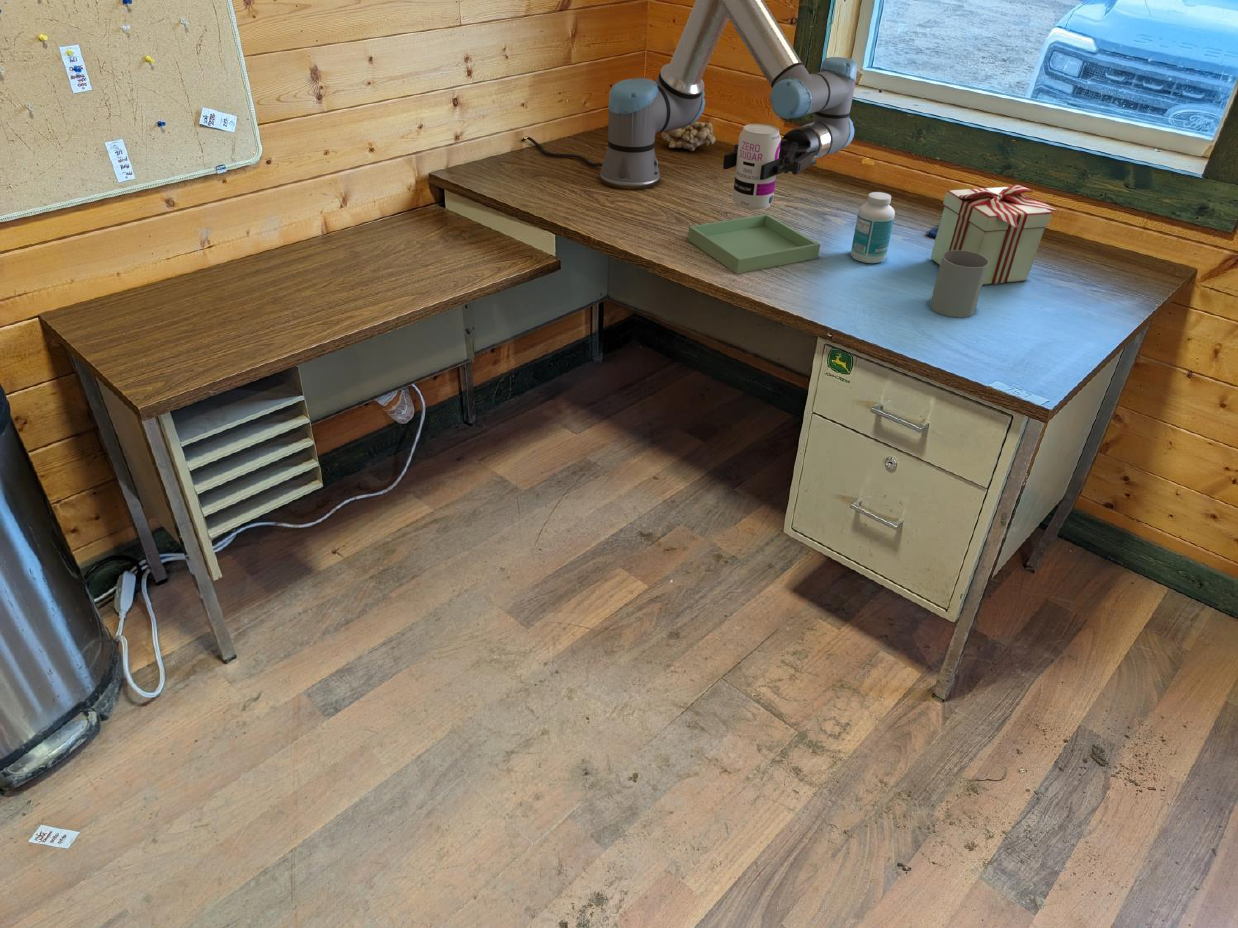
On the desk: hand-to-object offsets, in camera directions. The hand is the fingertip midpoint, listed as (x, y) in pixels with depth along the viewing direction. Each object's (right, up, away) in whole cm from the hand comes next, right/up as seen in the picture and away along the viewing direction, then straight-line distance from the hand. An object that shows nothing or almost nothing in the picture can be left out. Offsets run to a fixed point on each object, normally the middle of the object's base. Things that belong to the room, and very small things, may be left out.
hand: (743, 167), depth 174 cm
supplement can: (+3, -5, +8) cm, 10 cm away
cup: (+40, -28, -3) cm, 49 cm away
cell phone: (+53, -5, +30) cm, 61 cm away
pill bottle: (+29, -14, +16) cm, 36 cm away
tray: (+4, -12, +17) cm, 21 cm away
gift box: (+52, -18, +11) cm, 56 cm away
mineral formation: (-4, +31, +76) cm, 82 cm away
